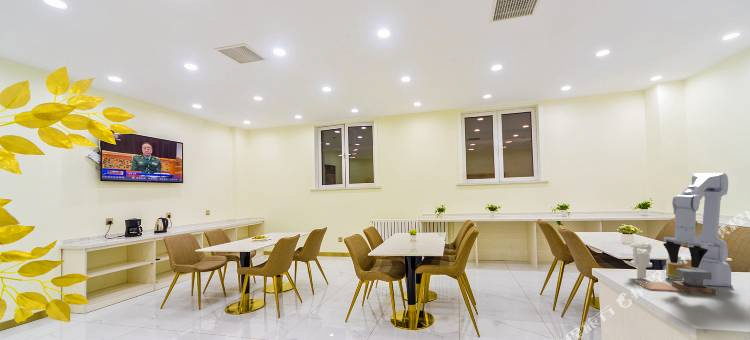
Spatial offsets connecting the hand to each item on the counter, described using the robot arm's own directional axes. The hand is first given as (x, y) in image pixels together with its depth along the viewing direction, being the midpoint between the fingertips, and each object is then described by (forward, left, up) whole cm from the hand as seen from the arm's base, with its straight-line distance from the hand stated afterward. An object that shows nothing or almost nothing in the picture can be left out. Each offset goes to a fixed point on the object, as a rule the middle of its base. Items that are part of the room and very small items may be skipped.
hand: (684, 265), depth 130 cm
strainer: (+5, -18, -10) cm, 21 cm away
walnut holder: (-5, -4, -10) cm, 12 cm away
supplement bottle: (-8, -20, -10) cm, 24 cm away
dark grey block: (-5, -4, -10) cm, 12 cm away
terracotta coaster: (+6, -6, -10) cm, 13 cm away
